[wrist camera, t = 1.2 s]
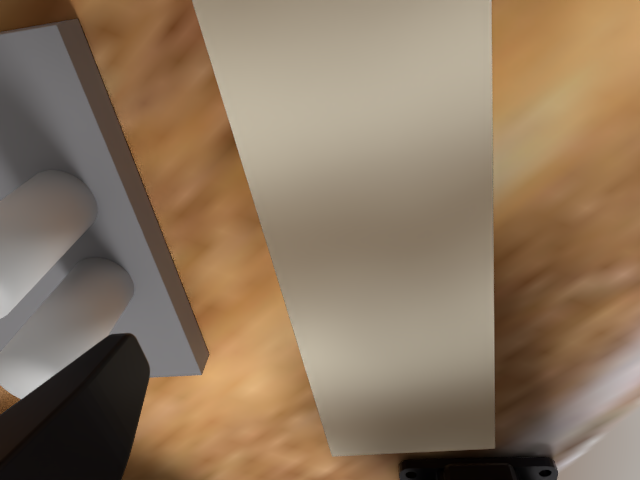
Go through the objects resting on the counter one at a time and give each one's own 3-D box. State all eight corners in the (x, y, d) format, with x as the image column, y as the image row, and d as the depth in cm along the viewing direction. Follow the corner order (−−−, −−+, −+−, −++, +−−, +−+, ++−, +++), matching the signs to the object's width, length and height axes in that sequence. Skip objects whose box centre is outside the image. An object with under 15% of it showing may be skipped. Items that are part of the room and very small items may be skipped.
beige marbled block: (470, 350, 18) (495, 448, 14) (337, 361, 19) (332, 456, 15) (443, -228, 9) (488, -317, 6) (206, -160, 10) (129, -204, 7)
